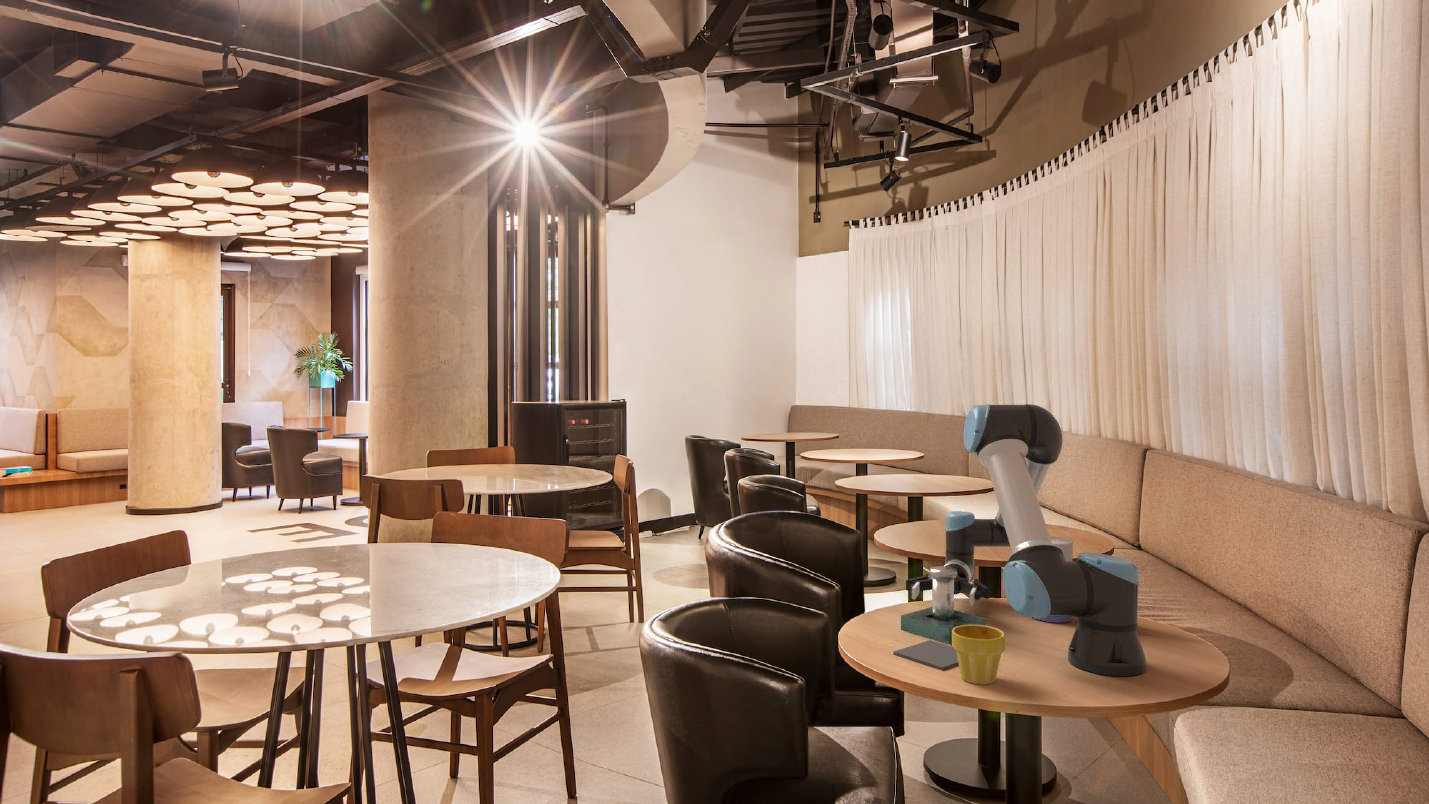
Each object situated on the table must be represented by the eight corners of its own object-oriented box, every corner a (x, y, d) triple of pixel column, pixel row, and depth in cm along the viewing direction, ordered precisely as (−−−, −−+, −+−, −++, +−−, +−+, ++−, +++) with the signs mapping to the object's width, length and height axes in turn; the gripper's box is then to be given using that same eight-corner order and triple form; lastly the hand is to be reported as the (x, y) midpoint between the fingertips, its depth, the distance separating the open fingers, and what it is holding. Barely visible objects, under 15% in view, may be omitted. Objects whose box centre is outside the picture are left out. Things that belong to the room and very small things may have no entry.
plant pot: (946, 682, 171) (946, 634, 171) (957, 667, 180) (957, 621, 180) (999, 692, 166) (1000, 642, 166) (1008, 675, 175) (1009, 628, 175)
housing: (985, 632, 204) (985, 618, 204) (949, 644, 195) (949, 629, 195) (936, 619, 215) (936, 605, 215) (900, 629, 206) (900, 615, 206)
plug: (961, 631, 205) (962, 569, 204) (945, 637, 201) (946, 573, 200) (939, 625, 210) (940, 565, 209) (923, 630, 206) (924, 568, 205)
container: (1064, 612, 221) (1065, 536, 220) (1077, 624, 211) (1078, 543, 210) (1024, 611, 222) (1026, 535, 221) (1035, 622, 212) (1036, 542, 211)
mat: (978, 657, 186) (978, 654, 186) (942, 670, 178) (942, 667, 178) (930, 642, 196) (930, 640, 196) (893, 654, 188) (893, 651, 188)
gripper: (1004, 596, 220) (996, 618, 200) (906, 586, 230) (889, 606, 210) (1004, 567, 219) (996, 586, 200) (906, 558, 229) (890, 576, 210)
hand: (941, 596), depth 205 cm, fingers open, 13 cm apart
